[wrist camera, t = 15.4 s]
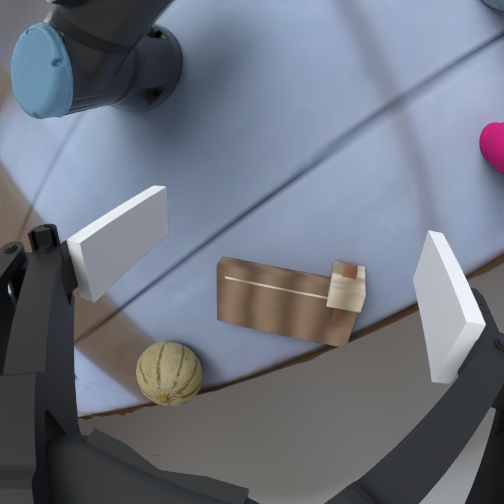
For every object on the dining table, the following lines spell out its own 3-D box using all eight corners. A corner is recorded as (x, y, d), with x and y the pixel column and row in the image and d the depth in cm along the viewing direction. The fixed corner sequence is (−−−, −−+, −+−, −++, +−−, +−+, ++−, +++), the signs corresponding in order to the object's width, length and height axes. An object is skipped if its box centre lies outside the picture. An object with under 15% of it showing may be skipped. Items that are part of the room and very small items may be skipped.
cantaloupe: (144, 336, 74) (111, 379, 61) (184, 321, 67) (150, 370, 54) (182, 377, 77) (156, 421, 65) (224, 368, 70) (200, 419, 58)
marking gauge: (323, 307, 55) (318, 339, 48) (335, 252, 49) (332, 279, 42) (351, 313, 53) (349, 344, 47) (366, 257, 48) (368, 286, 41)
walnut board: (223, 310, 62) (217, 320, 59) (223, 256, 56) (216, 265, 53) (347, 336, 57) (346, 348, 54) (363, 283, 51) (363, 294, 48)
